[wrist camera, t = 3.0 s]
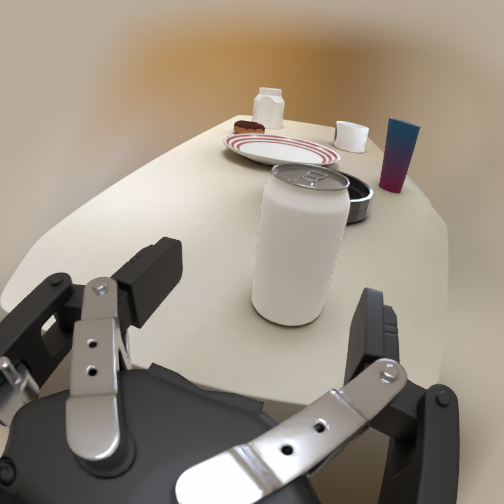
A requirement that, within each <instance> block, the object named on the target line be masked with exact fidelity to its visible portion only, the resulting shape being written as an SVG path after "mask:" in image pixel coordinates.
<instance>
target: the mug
mask: <svg viewBox="0 0 504 504" xmlns="http://www.w3.org/2000/svg"><path fill="white" fill-rule="evenodd" d="M368 131H369V128H367V127H364V126H361V125H358V124H354V123H351V122H350V123H349V122H344V121H337V122H336V130H335V139H334V146H335V147H336V148H338V149H341V150H345V151H348V152H353V153H363V152H364V148H365V144H366V140H367V135H368Z"/></svg>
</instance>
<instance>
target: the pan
mask: <svg viewBox="0 0 504 504" xmlns="http://www.w3.org/2000/svg"><path fill="white" fill-rule="evenodd" d="M328 169H330V168H328ZM331 170H333V171H336V172H338V173H340V174H342V175H343V176H345V177H346V178H347V179H348V180H349V186H348V187H347V190H348V194H349V199H350V209H349V214H348V218H347V223H346V224H348V223H353V222H357V221H360V220H362V219H365V218H366V216H367V215H368V214H369V211H370V207H371V203H372V199H373V195H374V194H373V190H372V188H370V187H369V186H368V185H367V184H366V183H365V182H363V181H361V180H360V179H358V178H356V177H354V176H352V175H349V174H347V173H344V172H341V171H337V170H334V169H331ZM271 176H272V173H271Z"/></svg>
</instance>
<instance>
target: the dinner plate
mask: <svg viewBox="0 0 504 504" xmlns="http://www.w3.org/2000/svg"><path fill="white" fill-rule="evenodd" d="M223 142H224V144H225V145H226V146H227V147H228V148H230V149H231V150H233V151H234V152H236V153H238V154H240V155H243V156H245V157H247V158H249V159H251V160H253V161H256V162H260V163H263V164H268V165H273V166H275V165H278V164H282V163H305V164H312V165H317V166H324V165H328V164H332V163H336V162H338V161H339V160H340V156H339V155H338V154H337V153H336V152H334V151H333V150H331V149H329V148H326V147H324V146H321V145H319V144H316V143H313V142H309V141H306V140H302V139H297V138H293V137H287V136H280V135H272V134H255V133H248V134H235V135H230V136H228V137H226V138H224V140H223Z"/></svg>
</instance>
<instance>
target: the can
mask: <svg viewBox="0 0 504 504" xmlns="http://www.w3.org/2000/svg"><path fill="white" fill-rule="evenodd" d="M271 172H272V176H271V177H270V179H269V180H268V182H267V183H266V185H265V187H264V191H263V197H262V205H261V214H260V223H259V232H258V241H257V250H256V259H255V268H254V278H253V287H252V303H253V305H254V307H255V309H256V310H257V311H258V312H259V313H260V314H261V315H262V316H263V317H264V318H265V319H267V320H269V321H271V322H273V323H276V324H279V325H283V326H300V325H304V324H306V323H309V322H311V321H313V320H314V319H316V318H317V317H318V316H319V314H320V313H321V311H322V308H323V305H324V302H325V299H326V296H327V292H328V289H329V286H330V282H331V279H332V275H333V272H334V268H335V265H336V261H337V258H338V254H339V250H340V246H341V243H342V239H343V235H344V231H345V227H346V223H347V218H348V214H349V209H350V199H349V194H348V190H347V187H348V186H349V180H348V179H347V178H346V177H345V176H343V175H342V174H340V173H338V172H336V171H333V170H331V169H328V168H325V167H321V166H317V165H312V164H305V163H282V164H278V165H275V166H274V167H273V168H272V169H271Z"/></svg>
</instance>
